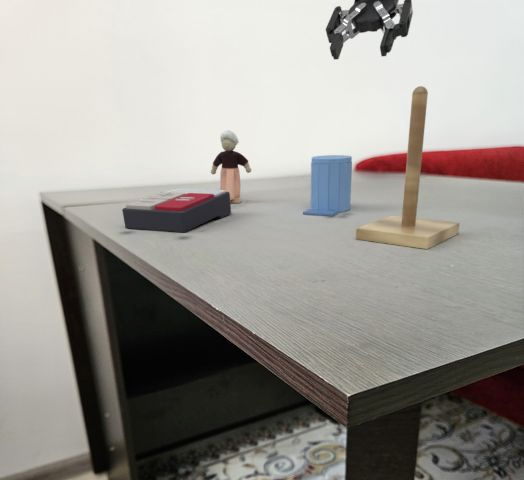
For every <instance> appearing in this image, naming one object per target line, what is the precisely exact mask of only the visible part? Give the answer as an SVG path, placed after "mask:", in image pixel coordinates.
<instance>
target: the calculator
mask: <svg viewBox="0 0 524 480" xmlns="http://www.w3.org/2000/svg"><path fill="white" fill-rule="evenodd" d="M230 202H231V199H230V193H229V192H226V190H220V189H207V188H202V189H201V188H182V187H181V188H179V187H178V188H177V187H176V188H172V189H169V190H167V191H160V192H158V193H154V194H152V195H148V196H146V197H145V198H141V199H137V200H135V201H133V202H129V203H127V204H125V207H123V208H121V209H122V210H121V212H122V216H123V222H124V227H125V229H132V230H143V231H144V230H146V231H158V232H172V233H173V232H174V233H187V232H188V231H190V230H193V229H195V228H197V227H199V226H201V225H203V224H205V223H207V222H209V221H211V220H213V219H223V218H225V217H227V216H229V215H231V213H232V207H231V205H232V204H231V203H230Z"/></svg>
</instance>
